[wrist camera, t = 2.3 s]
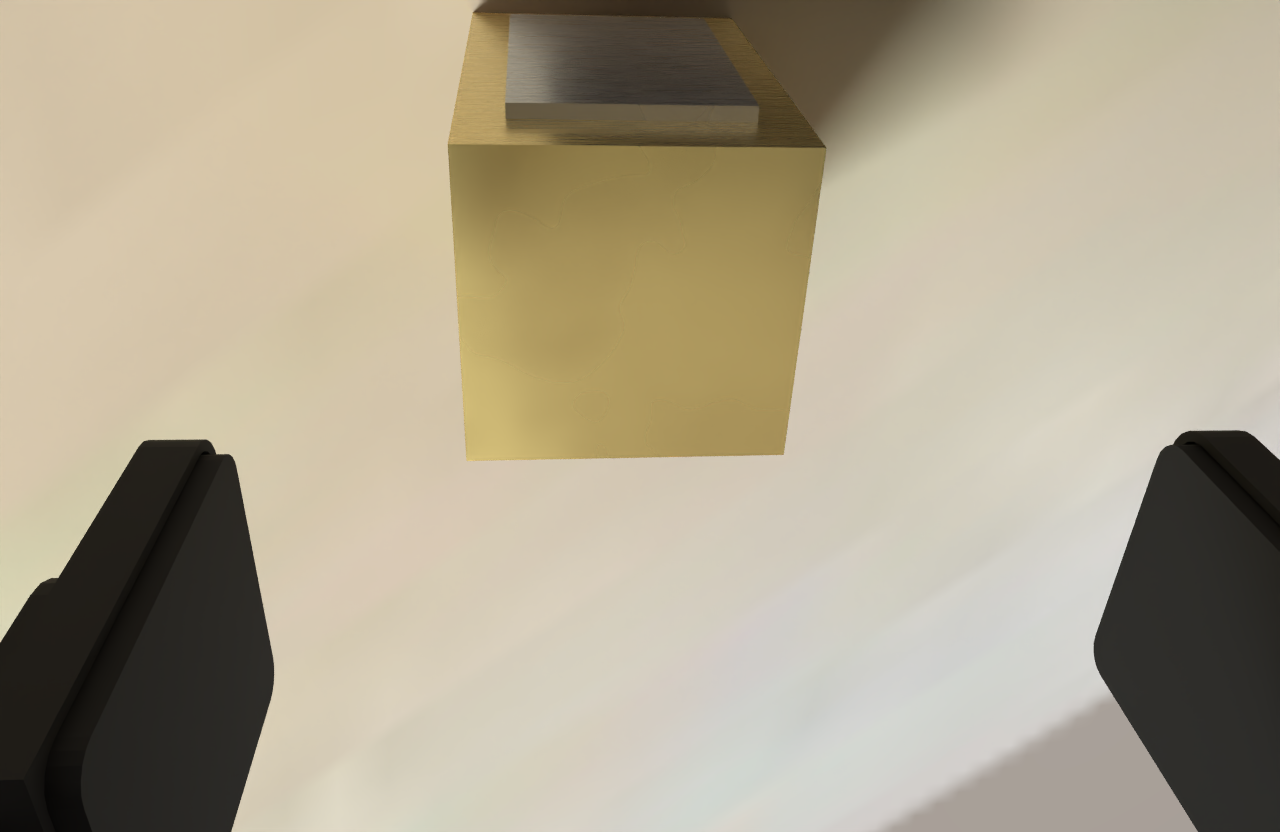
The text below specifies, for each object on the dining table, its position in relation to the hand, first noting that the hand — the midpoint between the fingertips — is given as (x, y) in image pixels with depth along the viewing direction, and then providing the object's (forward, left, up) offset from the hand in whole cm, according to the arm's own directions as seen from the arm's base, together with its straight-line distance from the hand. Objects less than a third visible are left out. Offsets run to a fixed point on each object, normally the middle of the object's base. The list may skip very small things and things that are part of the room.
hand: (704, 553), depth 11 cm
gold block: (-1, 0, -11) cm, 11 cm away
